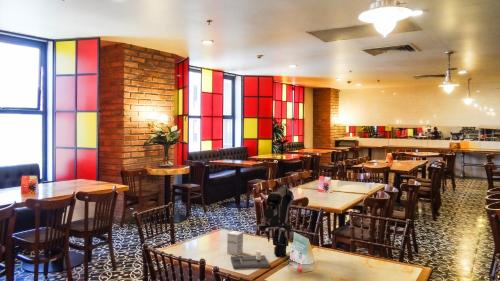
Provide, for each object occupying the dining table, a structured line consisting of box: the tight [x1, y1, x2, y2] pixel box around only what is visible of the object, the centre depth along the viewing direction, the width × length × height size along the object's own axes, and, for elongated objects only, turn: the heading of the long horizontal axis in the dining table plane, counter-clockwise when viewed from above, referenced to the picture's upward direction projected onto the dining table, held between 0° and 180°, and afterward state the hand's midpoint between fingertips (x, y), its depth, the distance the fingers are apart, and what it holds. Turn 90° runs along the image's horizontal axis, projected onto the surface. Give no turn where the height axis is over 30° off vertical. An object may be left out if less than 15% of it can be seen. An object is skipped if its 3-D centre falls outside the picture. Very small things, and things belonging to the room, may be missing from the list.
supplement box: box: [226, 230, 244, 256], centre depth 237 cm, size 7×7×13 cm
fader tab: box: [255, 249, 262, 260], centre depth 220 cm, size 2×4×5 cm, turn 9°
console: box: [230, 254, 270, 270], centre depth 220 cm, size 20×14×2 cm
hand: (273, 241), depth 221 cm, fingers open, 6 cm apart
